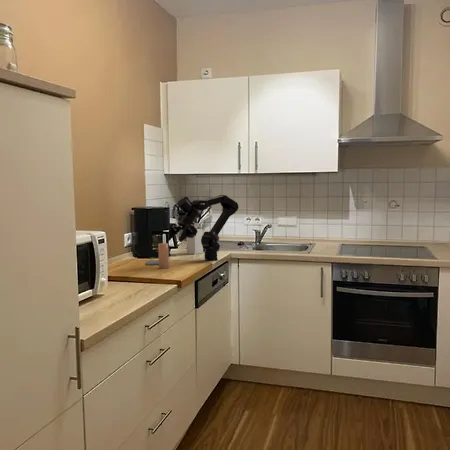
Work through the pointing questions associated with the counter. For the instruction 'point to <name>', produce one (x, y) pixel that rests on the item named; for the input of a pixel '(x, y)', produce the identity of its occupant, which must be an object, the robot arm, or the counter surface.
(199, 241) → the milk carton
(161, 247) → the brown rounded tapered cylinder
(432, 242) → the counter surface
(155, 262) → the gray panel
